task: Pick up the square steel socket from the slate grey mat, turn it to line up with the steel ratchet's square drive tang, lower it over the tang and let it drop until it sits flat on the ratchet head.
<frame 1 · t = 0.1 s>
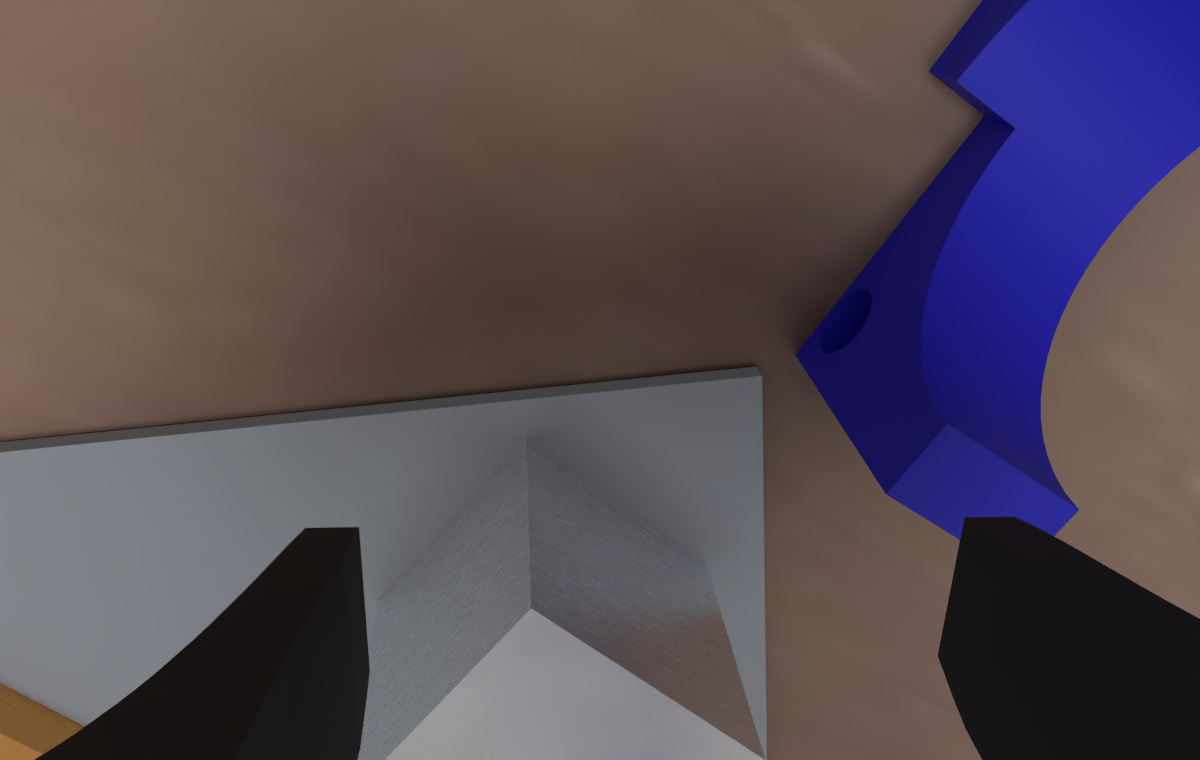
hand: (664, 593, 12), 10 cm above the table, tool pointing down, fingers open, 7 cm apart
socket: (543, 581, 23), resting on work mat
cable clip: (1004, 133, 21), on the table
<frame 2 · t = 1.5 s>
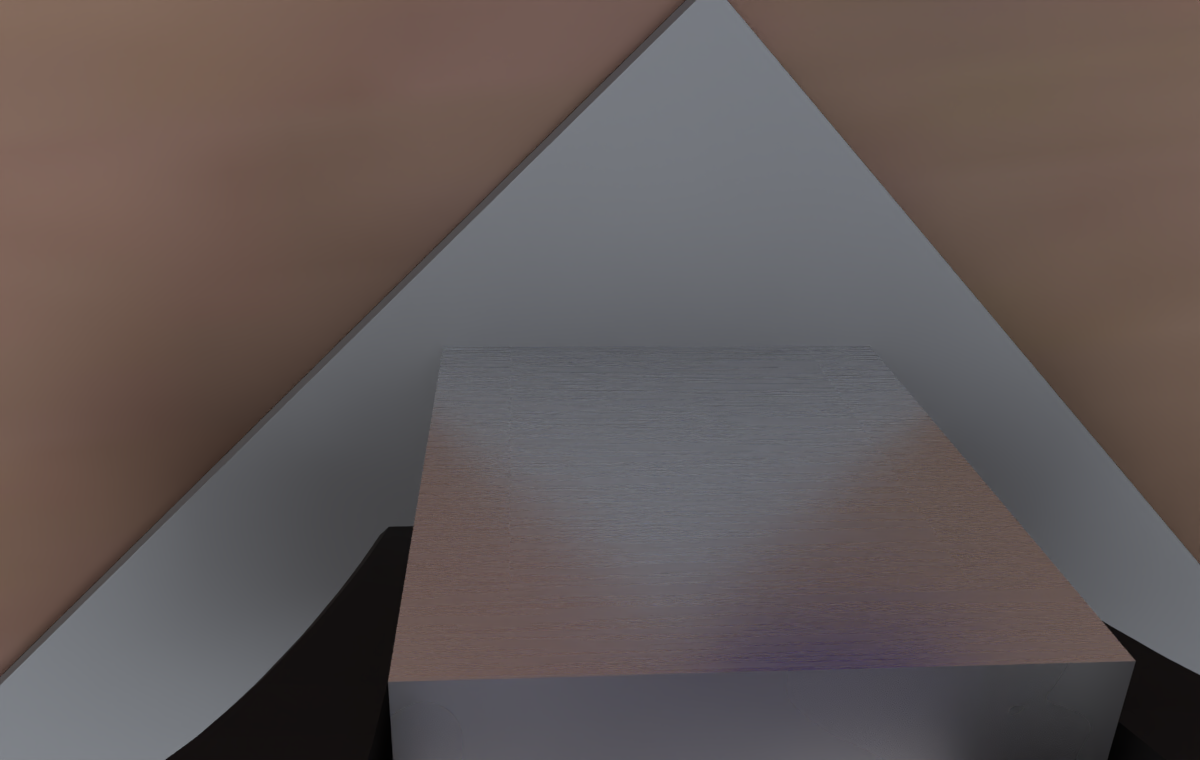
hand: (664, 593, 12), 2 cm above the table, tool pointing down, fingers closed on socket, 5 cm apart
socket: (649, 530, 14), resting on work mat, touching gripper
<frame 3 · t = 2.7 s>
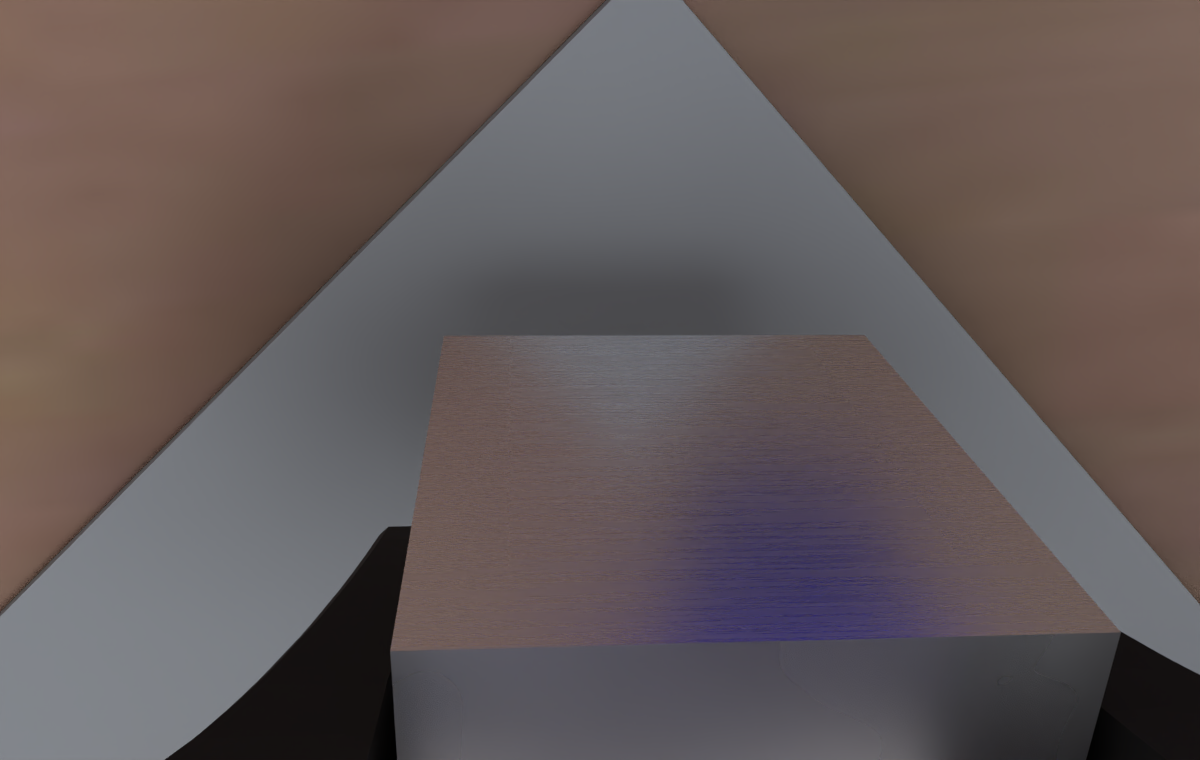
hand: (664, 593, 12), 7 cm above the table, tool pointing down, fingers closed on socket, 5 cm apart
socket: (647, 518, 14), point 5 cm above the table, touching gripper
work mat: (563, 704, 22), on the table
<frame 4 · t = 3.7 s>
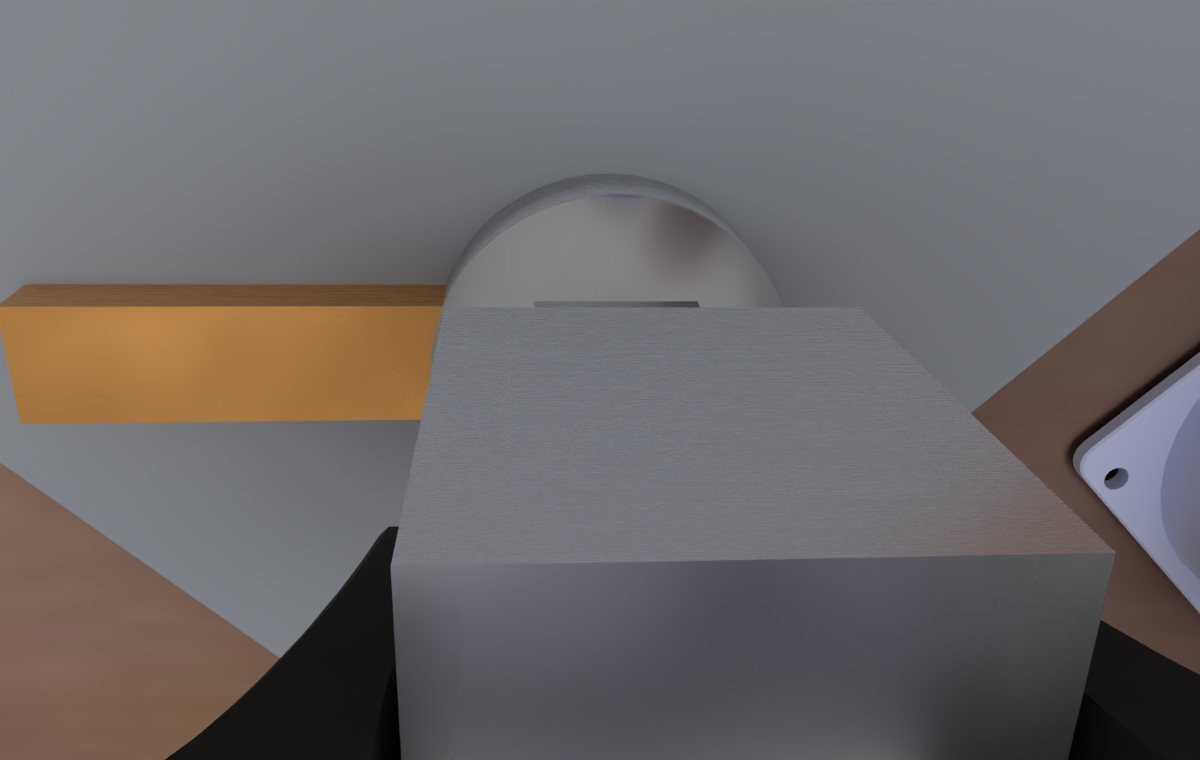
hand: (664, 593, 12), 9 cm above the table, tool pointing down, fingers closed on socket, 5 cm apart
socket: (647, 494, 14), point 7 cm above the table, touching gripper
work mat: (531, 186, 19), on the table
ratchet: (605, 339, 20), resting on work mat
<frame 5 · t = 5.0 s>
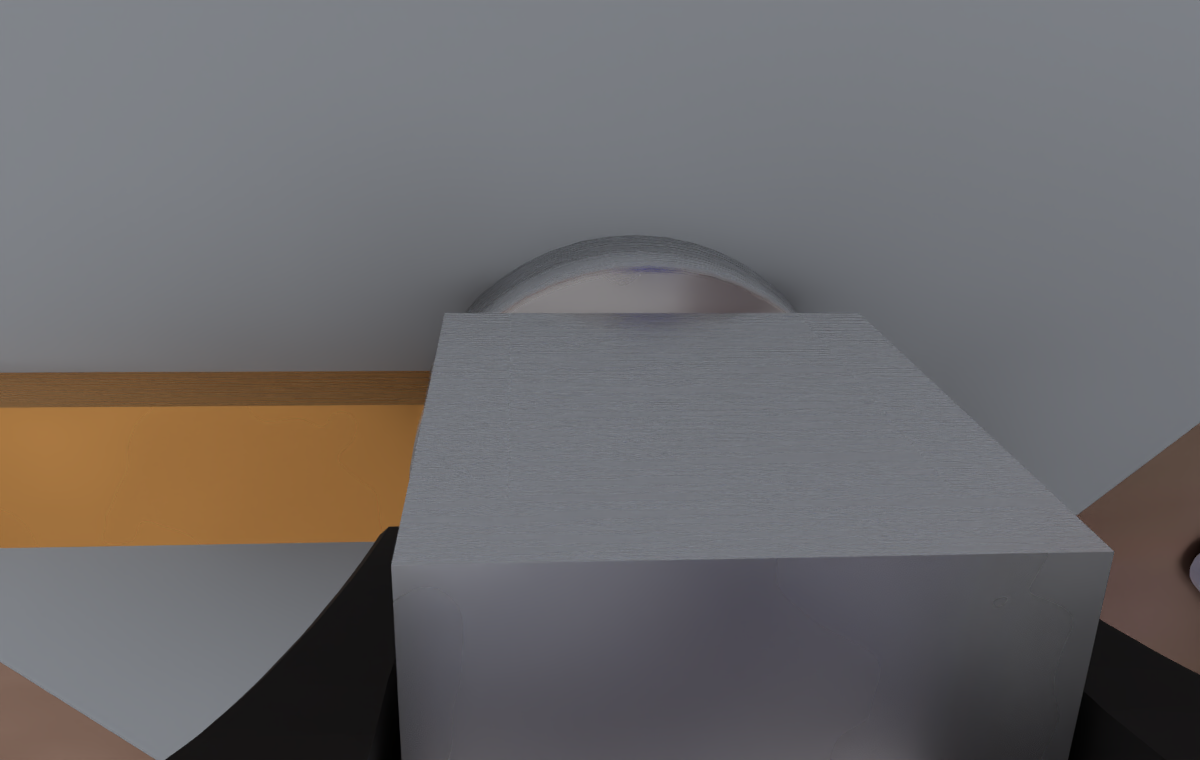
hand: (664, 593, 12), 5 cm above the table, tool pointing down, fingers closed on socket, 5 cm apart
socket: (647, 500, 14), point 3 cm above the table, touching gripper
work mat: (536, 249, 15), on the table
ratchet: (627, 435, 16), resting on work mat
when the fingers open (5 cm above the table, at t = 5.9 s): socket stays where it is, resting on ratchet.
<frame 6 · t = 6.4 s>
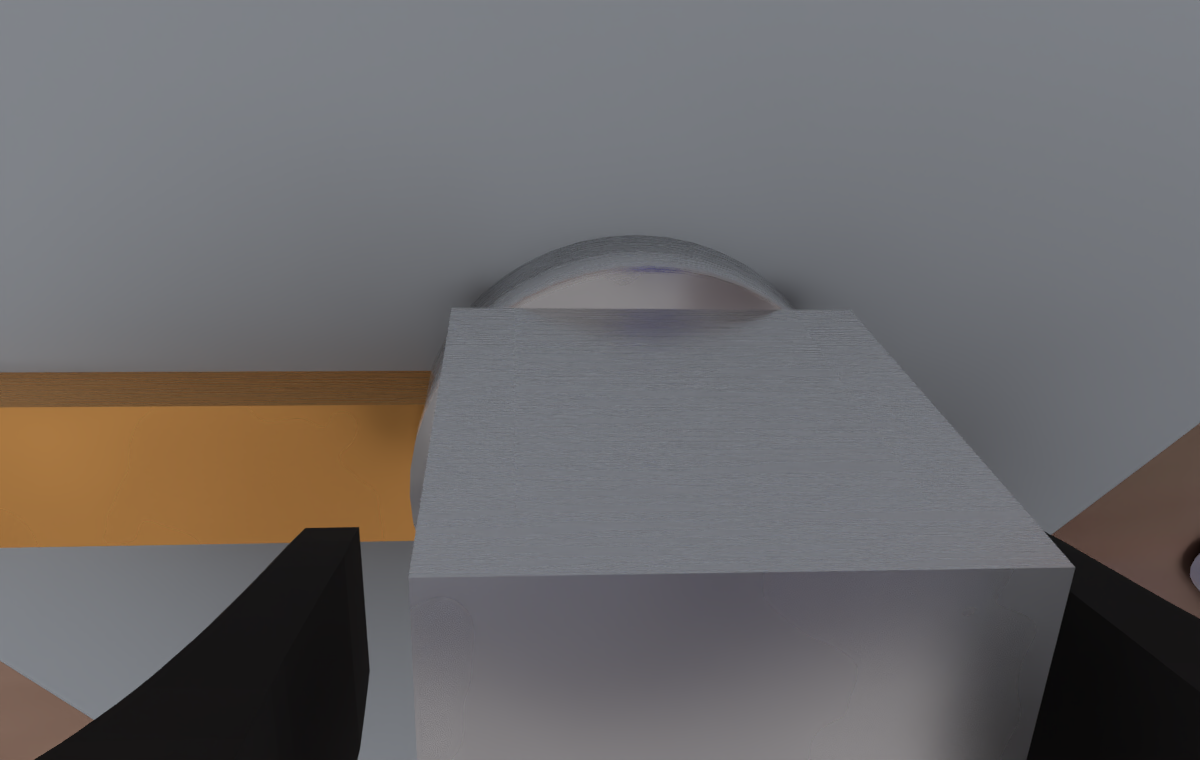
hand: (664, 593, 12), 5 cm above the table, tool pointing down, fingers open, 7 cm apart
socket: (644, 484, 15), point 2 cm above the table, touching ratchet
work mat: (537, 249, 15), on the table
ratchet: (628, 435, 16), resting on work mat, touching socket
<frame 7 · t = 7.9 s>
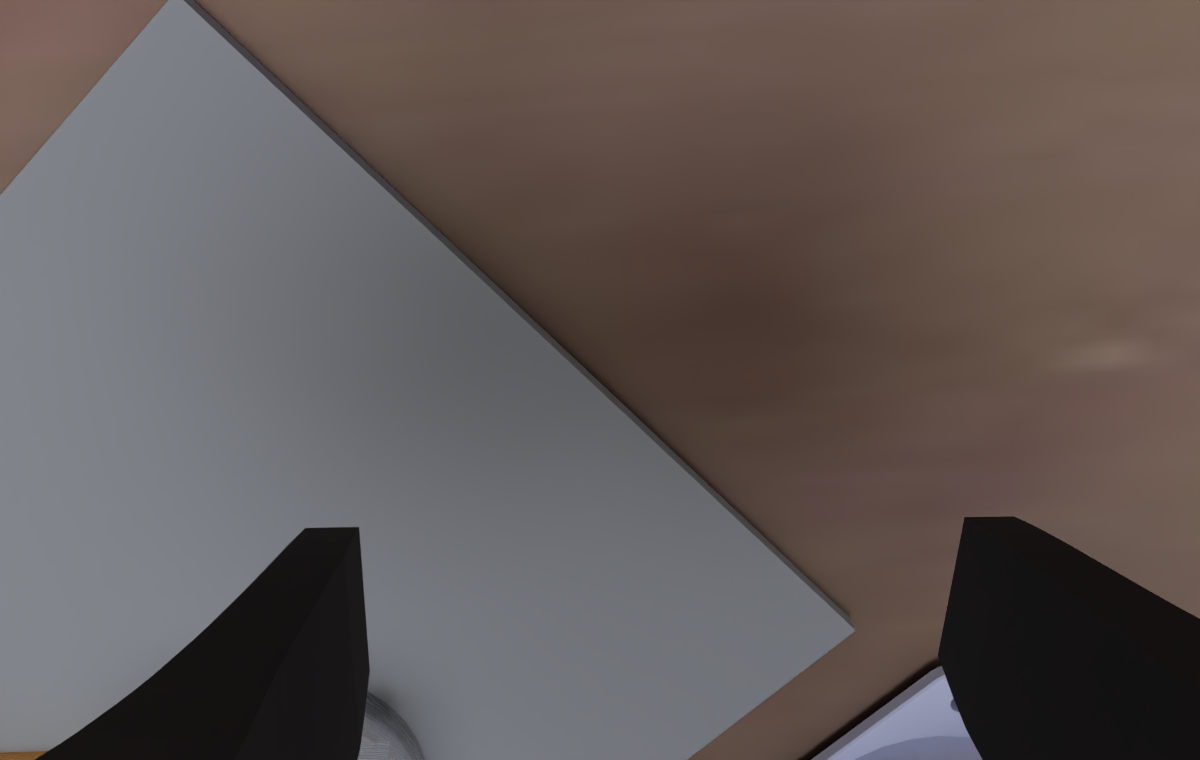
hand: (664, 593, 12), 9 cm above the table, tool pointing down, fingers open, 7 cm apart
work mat: (219, 670, 24), on the table
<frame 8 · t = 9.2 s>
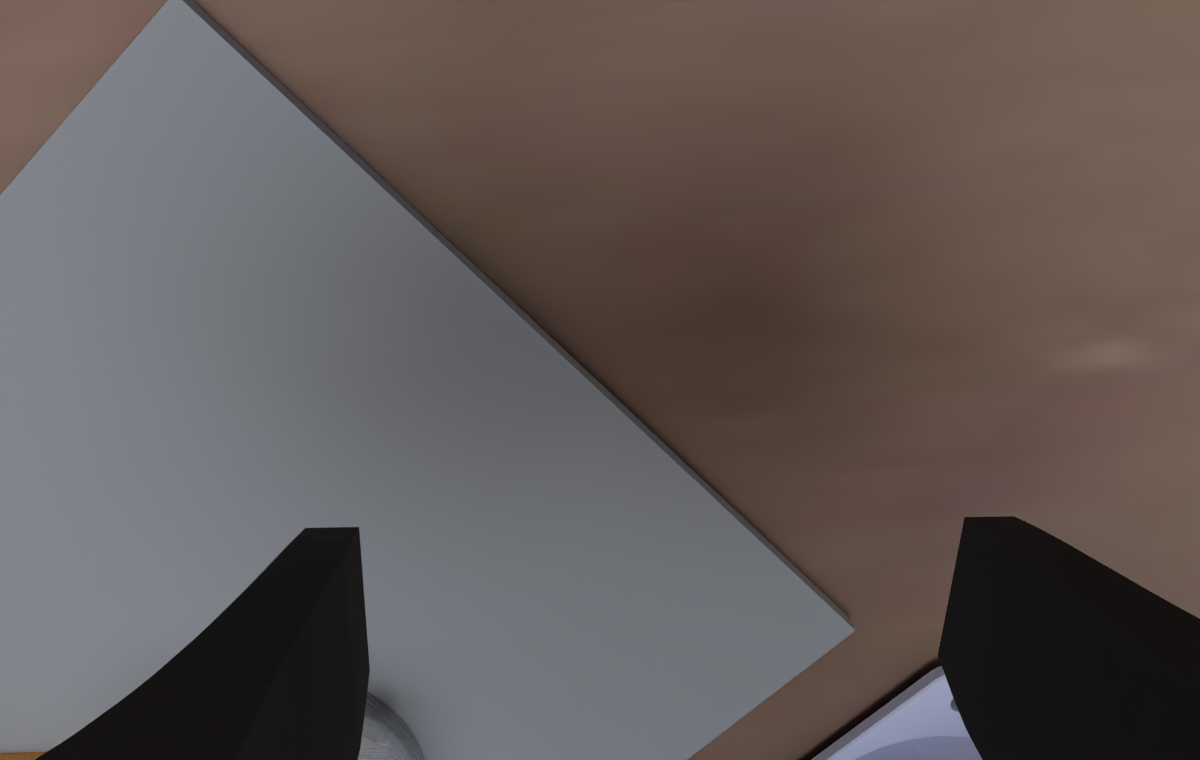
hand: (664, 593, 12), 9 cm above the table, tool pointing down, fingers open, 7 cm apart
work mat: (218, 670, 24), on the table
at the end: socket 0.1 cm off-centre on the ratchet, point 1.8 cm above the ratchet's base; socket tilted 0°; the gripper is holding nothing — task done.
